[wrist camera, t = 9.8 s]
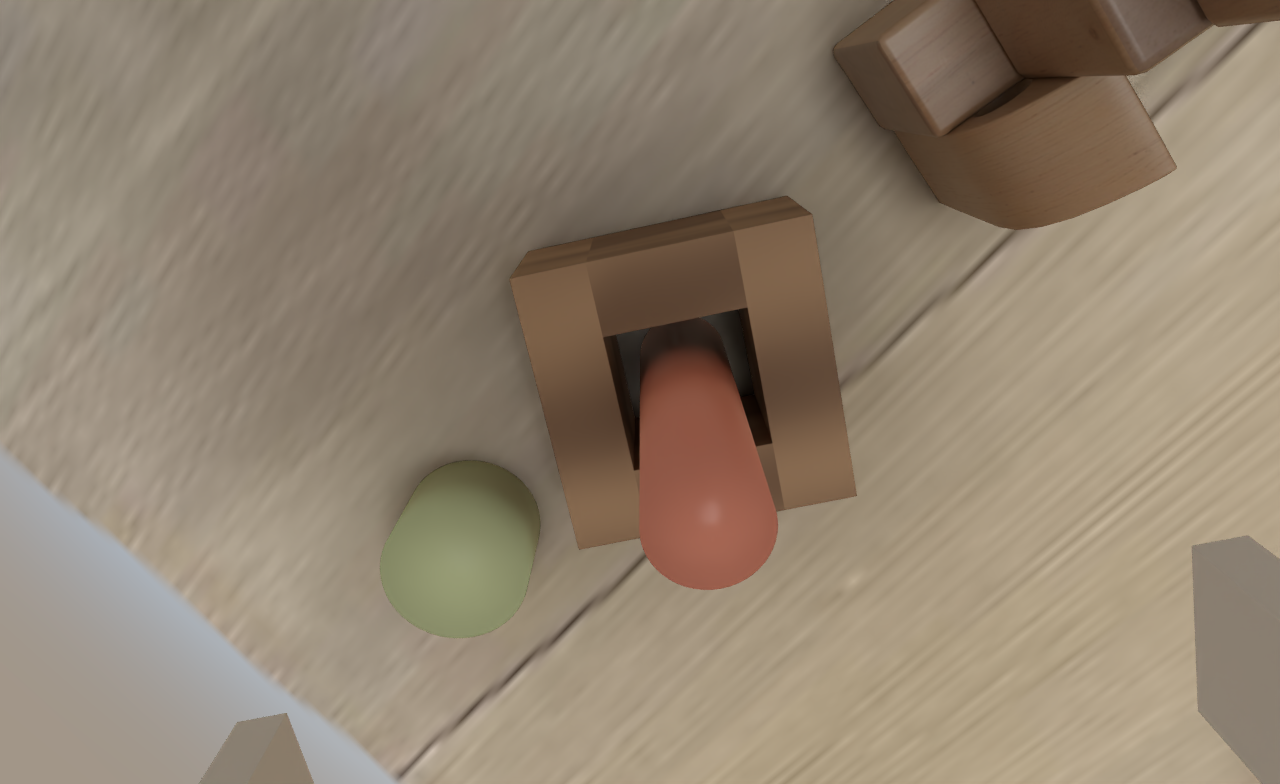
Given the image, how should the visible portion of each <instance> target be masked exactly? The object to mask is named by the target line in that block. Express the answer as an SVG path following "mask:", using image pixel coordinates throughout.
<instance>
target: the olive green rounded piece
mask: <svg viewBox="0 0 1280 784" xmlns="http://www.w3.org/2000/svg"><path fill="white" fill-rule="evenodd" d="M539 534H540V515H539V510H538V507H537V504H536V502H535V499H534V497H533V495H532V494H531V492H530V491H529V489H528V488H527V487H526V486H525V485H524V483H523V482H522V481H521V480H520V479H518V478H517V477H516V476H515V475H513V474H512V473H510V472H509V471H507V470H505V469H503V468H501V467H499V466H497V465H494V464H491V463H487V462H482V461H459V462H454V463H450V464H447V465H445V466H442V467H440V468H438V469H436V470H435V471H433V472H432V473H430V474H429V475H428V476H426V477H425V478H424V479H423V480H422V481H421V482H420V484H419V485H418V487H417V488H416V489H415V491H414V493H413V495H412V497H411V498H410V500H409V502H408V504H407V505H406V507H405V509H404V511H403V513H402V514H401V516H400V518H399V520H398V521H397V523H396V525H395V527H394V529H393V530H392V532H391V534H390V536H389V538H388V539H387V541H386V543H385V546H384V548H383V551H382V555H381V560H380V575H381V581H382V585H383V588H384V590H385V593H386V595H387V597H388V599H389V601H390V602H391V604H392V605H393V606H394V608H395V609H396V610H397V611H398V612H399V614H400V615H401V616H402V617H404V618H405V619H406V620H407V621H408V622H410V623H411V624H413V625H414V626H416V627H418V628H420V629H422V630H424V631H426V632H428V633H431V634H434V635H438V636H442V637H448V638H469V637H475V636H479V635H483V634H486V633H488V632H491V631H493V630H495V629H497V628H498V627H500V626H501V625H503V624H504V623H506V622H507V621H508V620H509V619H510V618H511V617H512V616H513V615H514V614H515V612H516V611H517V610H518V608H519V607H520V605H521V603H522V602H523V599H524V597H525V595H526V591H527V587H528V582H529V578H530V574H531V569H532V565H533V561H534V556H535V552H536V547H537V543H538V539H539Z"/></svg>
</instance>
